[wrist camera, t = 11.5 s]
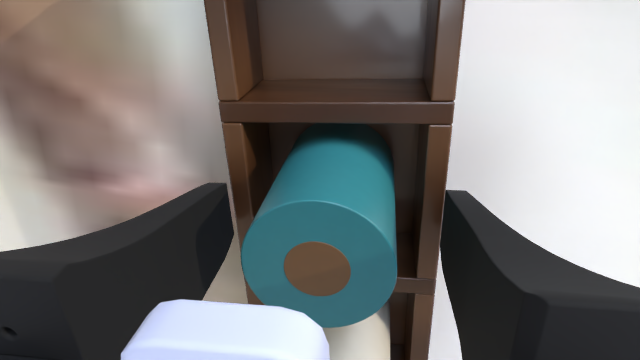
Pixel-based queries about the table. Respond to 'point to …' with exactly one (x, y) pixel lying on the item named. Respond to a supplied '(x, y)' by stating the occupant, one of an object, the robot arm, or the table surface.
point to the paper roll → (327, 228)
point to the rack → (346, 113)
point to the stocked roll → (362, 338)
